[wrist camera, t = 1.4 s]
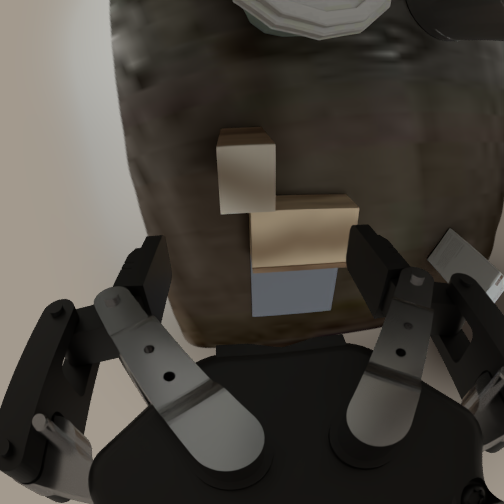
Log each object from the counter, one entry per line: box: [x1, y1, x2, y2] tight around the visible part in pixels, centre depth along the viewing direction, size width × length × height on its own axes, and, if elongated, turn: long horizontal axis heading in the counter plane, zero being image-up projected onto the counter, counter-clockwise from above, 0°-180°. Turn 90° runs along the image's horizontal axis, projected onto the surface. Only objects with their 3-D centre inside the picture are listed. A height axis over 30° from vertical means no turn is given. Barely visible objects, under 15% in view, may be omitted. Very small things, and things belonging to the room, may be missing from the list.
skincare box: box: [427, 228, 504, 303], centre depth 32 cm, size 6×4×12 cm
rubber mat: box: [250, 255, 338, 317], centre depth 38 cm, size 10×11×1 cm
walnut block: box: [216, 127, 276, 214], centre depth 25 cm, size 5×4×10 cm
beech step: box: [249, 194, 359, 273], centre depth 32 cm, size 7×11×4 cm, turn 92°
